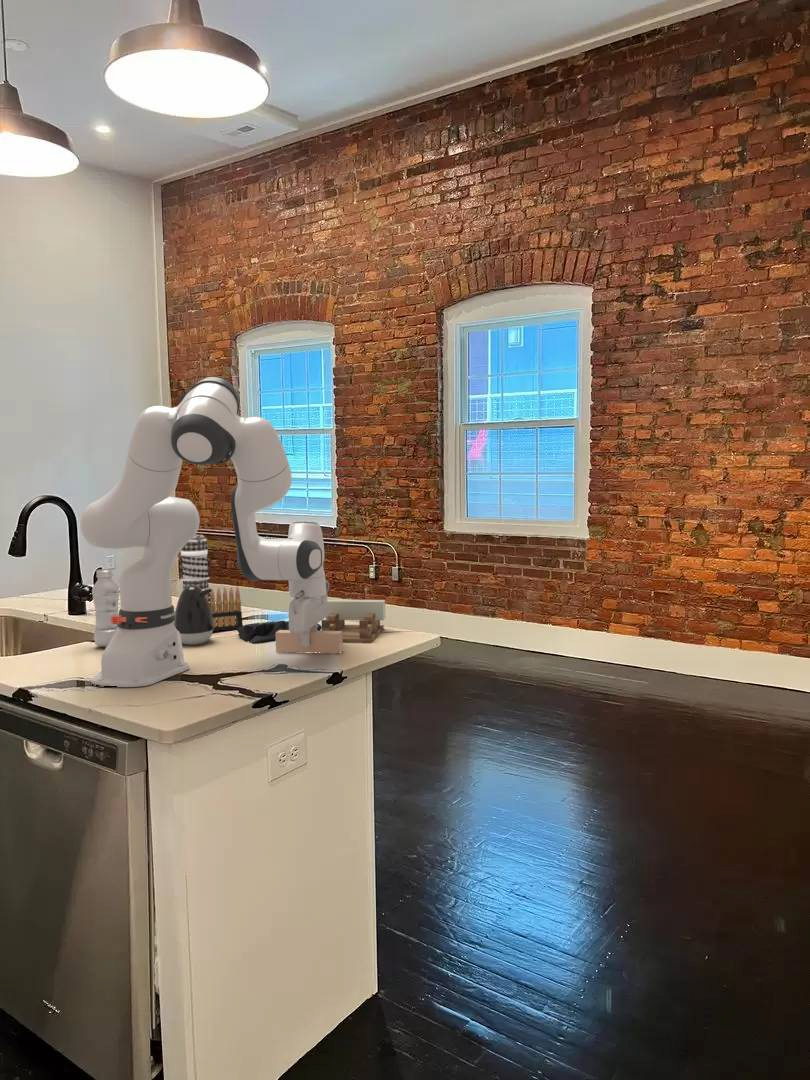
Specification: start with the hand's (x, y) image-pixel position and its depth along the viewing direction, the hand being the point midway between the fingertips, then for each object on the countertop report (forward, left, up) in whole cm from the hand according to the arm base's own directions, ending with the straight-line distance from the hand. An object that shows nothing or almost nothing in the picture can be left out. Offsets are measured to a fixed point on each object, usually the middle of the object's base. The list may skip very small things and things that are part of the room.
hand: (309, 643), depth 194 cm
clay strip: (0, 0, -2) cm, 2 cm away
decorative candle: (+41, +48, -2) cm, 63 cm away
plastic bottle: (+1, +54, -2) cm, 54 cm away
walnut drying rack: (+19, -6, -2) cm, 20 cm away
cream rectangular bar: (+23, -6, +2) cm, 24 cm away
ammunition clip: (+23, +32, -2) cm, 39 cm away
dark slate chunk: (+19, +14, -3) cm, 24 cm away
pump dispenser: (+7, +33, -2) cm, 34 cm away
